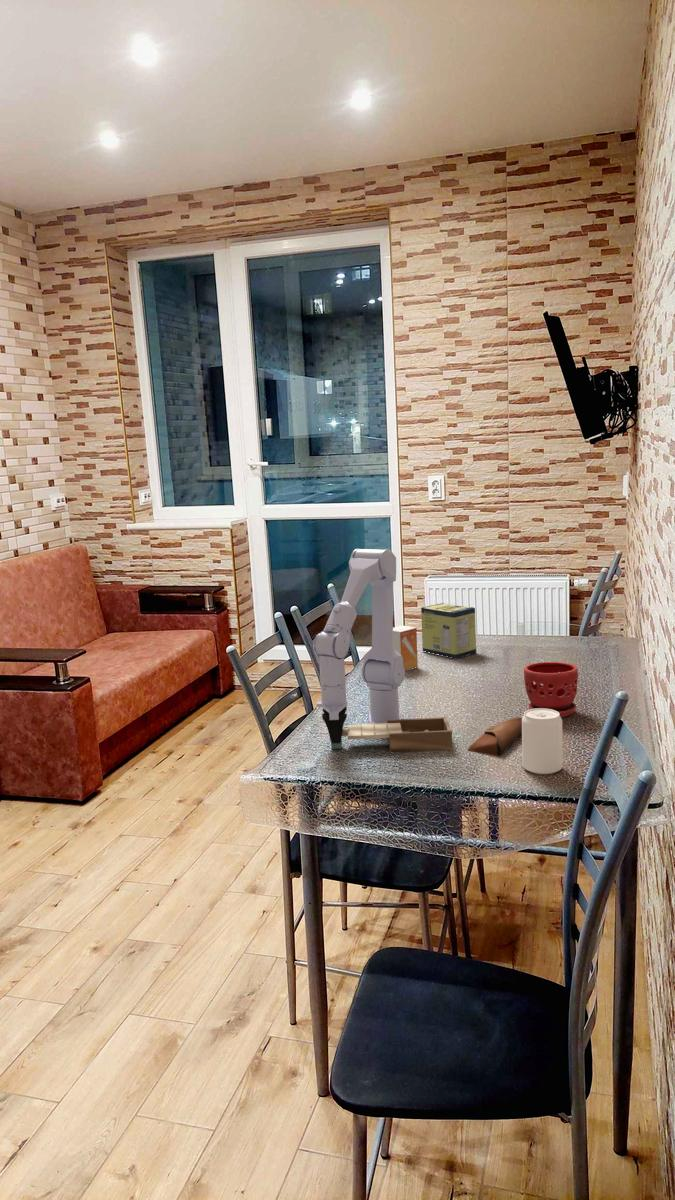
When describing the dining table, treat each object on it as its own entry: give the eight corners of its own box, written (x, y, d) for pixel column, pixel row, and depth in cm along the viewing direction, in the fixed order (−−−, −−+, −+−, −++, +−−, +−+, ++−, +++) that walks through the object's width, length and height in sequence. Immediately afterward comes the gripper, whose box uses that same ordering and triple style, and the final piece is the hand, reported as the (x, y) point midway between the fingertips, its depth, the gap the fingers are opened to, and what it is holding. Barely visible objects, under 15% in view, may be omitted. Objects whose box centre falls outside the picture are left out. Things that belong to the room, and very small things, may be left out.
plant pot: (584, 708, 204) (584, 663, 202) (567, 723, 194) (567, 675, 192) (535, 702, 212) (535, 658, 210) (516, 716, 201) (515, 670, 199)
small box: (401, 673, 246) (400, 632, 244) (386, 670, 251) (384, 629, 249) (418, 667, 252) (417, 627, 250) (403, 664, 256) (401, 624, 254)
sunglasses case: (492, 726, 194) (506, 705, 192) (517, 743, 192) (531, 722, 189) (465, 751, 179) (479, 728, 176) (491, 770, 177) (506, 748, 174)
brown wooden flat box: (387, 737, 190) (387, 719, 190) (446, 734, 190) (446, 717, 190) (390, 752, 181) (389, 734, 180) (452, 750, 180) (451, 731, 180)
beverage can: (544, 779, 162) (544, 722, 160) (514, 768, 168) (513, 713, 166) (570, 768, 166) (570, 713, 164) (539, 758, 173) (539, 705, 171)
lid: (331, 740, 189) (330, 719, 189) (400, 737, 189) (399, 716, 188) (331, 752, 182) (330, 730, 181) (403, 749, 182) (402, 727, 181)
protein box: (442, 646, 278) (441, 602, 275) (477, 653, 266) (476, 607, 263) (421, 652, 272) (420, 607, 269) (455, 659, 260) (454, 612, 257)
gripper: (316, 675, 190) (319, 730, 193) (314, 693, 176) (317, 752, 178) (346, 674, 190) (349, 729, 193) (346, 691, 176) (349, 750, 178)
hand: (336, 740), depth 185 cm, fingers closed on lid, 3 cm apart
